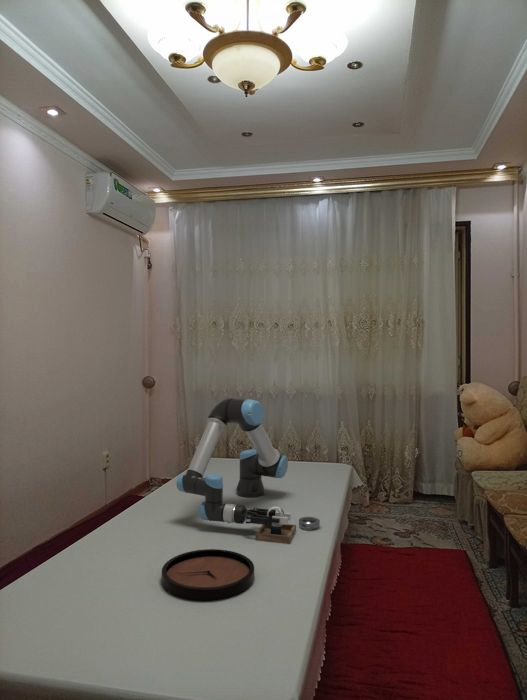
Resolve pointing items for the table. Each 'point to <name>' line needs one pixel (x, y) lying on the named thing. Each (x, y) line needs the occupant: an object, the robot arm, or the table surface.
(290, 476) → the table surface
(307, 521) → the round socket
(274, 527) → the watch
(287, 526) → the rect wooden tray
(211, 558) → the wall clock
